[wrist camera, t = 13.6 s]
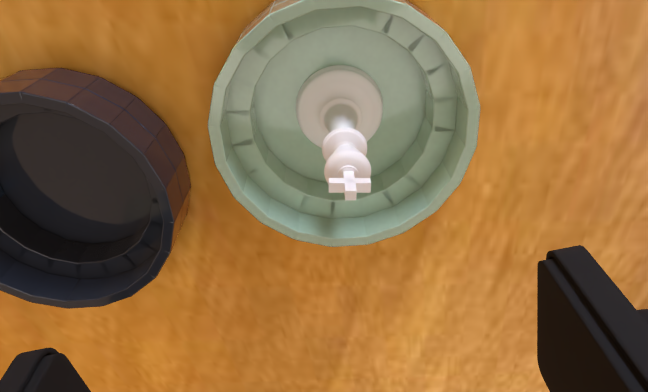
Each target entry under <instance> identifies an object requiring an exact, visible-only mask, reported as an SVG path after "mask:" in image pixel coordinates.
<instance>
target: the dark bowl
mask: <svg viewBox="0 0 648 392" xmlns="http://www.w3.org/2000/svg"><path fill="white" fill-rule="evenodd" d="M190 189H191V184H190V179H189V175H188V170H187V166H186V162H185V157H184V155H183V152H182V150H181V149H180V147H179V145H178V144H177V142H176V140H175V139H174V137H173V135H172V134H171V132H170V130H169V129H168V127H167V125H166V124H165V123H164V122H163V121H162V120H161V119H160V118H159V117H158V116H157V115H156V114H155V113H154V112H152V111H151V110H150V109H149V108H148V107H147V106H146V105H145V104H144V103H143V102H142V101H141V100H140V99H139V98H137V97H136V96H134V95H133V94H131V93H129V92H127V91H125V90H123V89H121V88H120V87H118V86H116V85H114V84H112V83H110V82H108V81H107V80H105V79H103V78H100V77H98V76H94V75H90V74H85V73H81V72H77V71H72V70H68V69H64V68H48V69H34V70H22V71H19V72H16V73H14V74H12V75H10V76H7V77H5V78H3V79H1V80H0V290H1V291H3V292H6V293H8V294H11V295H13V296H16V297H19V298H21V299H24V300H26V301H29V302H32V303H38V304H44V305H50V306H56V307H62V308H84V307H100V306H104V305H107V304H110V303H113V302H116V301H119V300H122V299H125V298H128V297H131V296H132V295H134V294H135V293H137V292H138V291H139V290H140V289H142V288H143V287H144V286H146V285H147V284H148V283H150V282H151V281H152V280H153V279H155V278H156V277H157V275H158V273H159V272H160V270H161V268H162V267H163V265H164V263H165V262H166V260H167V258H168V256H169V255H170V253H171V251H172V248H173V246H174V243H175V241H176V239H177V236H178V234H179V232H180V229H181V227H182V225H183V222H184V220H185V217H186V215H187V211H188V204H189V196H190Z"/></svg>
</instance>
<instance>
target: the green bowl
mask: <svg viewBox="0 0 648 392" xmlns="http://www.w3.org/2000/svg"><path fill="white" fill-rule="evenodd" d="M334 65H347V66H352V67H355V68H358V69H360V70H362V71H363V72H365V73H366V74H368V75H369V76H370V77H371V78H372V79H373V80H374V81H375V83H376V84H377V86H378V88H379V90H380V92H381V95H382V99H383V114H382V120H381V123H380V125H379V127H378V129H377V131H376V133H375V134H374V135H373V136H372V137H371V139H369V140H368V141H367V154H366V156H365V157H366V158H367V159H368V161H369V163H370V166H371V176H370V180H371V192H370V193H357V194H356V200H345V195H344V193H329V188H328V187H329V184H328V183H327V181H326V179H325V176H324V168H325V164H326V160H325V159H324V157H323V154H322V148H320V147H318V146H317V145H315V144H314V143H312V142H311V141H310V140H309V139H308V138H307V137H306V136H305V135H304V133H303V132H302V130H301V128H300V126H299V123H298V120H297V116H296V100H297V96H298V93H299V91H300V89H301V87H302V85H303V84H304V82H305V81H306V80H307V79H308V78H309V77H310V76H311V75H312V74H314V73H315V72H317V71H319V70H321V69H323V68H325V67H329V66H334ZM479 117H480V103H479V99H478V95H477V91H476V87H475V83H474V79H473V75H472V71H471V68H470V66H469V64H468V63H467V61H466V60H465V58H464V57H463V55H462V54H461V52H460V51H459V49H458V48H457V47H456V45H455V44H454V42H453V41H452V39H451V38H450V36H449V35H448V33H447V32H446V31H445V30H444V29H443V28H442V27H441V26H439V25H438V24H437V23H436V22H435V21H434V20H433V19H432V18H430V17H429V16H428V15H427V14H426V13H425V12H423V11H422V10H420V9H419V8H417V7H416V6H415V5H413V4H412V3H410V2H409V1H408V0H276V1H273V2H272V3H271V4H270V5H269V6H268V7H267V8H266V9H265V10H264V11H263V12H261V13H260V14H259V15H258V16H257V17H256V18H255V19H254V20H253V21H252V22H251V23H250V24H248V25H247V26H246V28H245V29H244V30H243V32H242V34H241V35H240V37H239V39H238V40H237V42H236V44H235V45H234V47H233V49H232V51H231V53H230V55H229V57H228V58H227V60H226V62H225V64H224V66H223V68H222V70H221V72H220V73H219V75H218V77H217V79H216V81H215V83H214V86H213V92H212V99H211V105H210V112H209V119H208V131H209V136H210V141H211V146H212V151H213V157H214V162H215V164H216V167H217V169H218V170H219V172H220V174H221V176H222V177H223V179H224V181H225V183H226V185H227V186H228V188H229V190H230V192H231V193H232V195H233V197H234V198H235V199H236V200H237V201H238V202H239V203H240V204H241V205H242V206H243V207H245V208H246V209H247V210H248V211H249V212H250V213H251V214H252V215H253V216H254V217H255V218H256V219H257V220H258V221H260V222H261V223H262V224H264V225H266V226H268V227H270V228H272V229H274V230H276V231H278V232H280V233H282V234H284V235H286V236H288V237H290V238H292V239H295V240H298V241H303V242H308V243H313V244H318V245H324V246H329V247H339V246H355V245H368V244H372V243H375V242H378V241H381V240H384V239H387V238H390V237H393V236H396V235H399V234H402V233H404V232H406V231H407V230H409V229H410V228H412V227H413V226H415V225H417V224H418V223H420V222H421V221H423V220H424V219H426V218H427V217H429V216H430V215H432V214H433V213H435V211H437V210H438V209H439V208H440V207H441V205H442V204H443V203H444V202H445V201H446V200H447V198H448V197H449V196H450V195H451V194H452V193H453V191H454V190H455V189H456V188H457V187H458V186H459V184H460V182H461V181H462V179H463V177H464V174H465V172H466V170H467V167H468V165H469V163H470V161H471V158H472V156H473V154H474V152H475V149H476V147H477V138H478V128H479Z"/></svg>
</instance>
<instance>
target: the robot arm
mask: <svg viewBox="0 0 648 392" xmlns="http://www.w3.org/2000/svg"><path fill="white" fill-rule="evenodd" d="M537 358H538V365H539V368H540V372H541V374H542V377H543V379H544V381H545V383H546V385H547V387H548V389H549V391H550V392H648V309H641V310H636V309H635V308H634V307H633V305H632V304H631V303H630V302H629V301H628V299H627V298H626V297H625V296H624V295H623V293H622V292H621V291H620V290H619V288H618V287H617V286H616V285H615V284H614V282H613V281H612V280H611V279H610V278H609V276H608V275H607V274H606V273H605V271H604V270H603V269H602V268H601V267H600V265H599V264H598V263H597V262H596V261H595V259H594V258H593V257H592V256H591V254H590V253H589V252H588V251H587V250H586V249H585V248H584V247H583V246H580V245H579V246H573V247H568V248H563V249H558V250H553V251H549V252H548V253H547V256H546V260H543V261H539V263H538V331H537ZM0 392H91V391H90V390H89V388H88V387H87V385H86V384H85V383H84V381H83V380H82V378H81V377H80V376H79V374H78V373H77V371H76V370H75V368H74V367H73V366H72V364H71V363H70V361H69V360H68V358H67V357H66V356H65V355H64V354H62V353H58V352H57V351H56V350H55V349H53V348H44V349H39V350H34V351H29V352H24V353H21V354H19V355H17V356H16V358H15V359H14V360H13V361H12V363H11V365H10V366H9V368H8V369H7V371H6V372H5V374H4V376H3V377H2V379H1V380H0Z"/></svg>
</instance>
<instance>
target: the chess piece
mask: <svg viewBox="0 0 648 392" xmlns="http://www.w3.org/2000/svg"><path fill="white" fill-rule="evenodd" d="M382 114H383V99H382V95H381V92H380V90H379V88H378V86H377V84H376V83H375V81H374V80H373V79H372V78H371V77H370V76H369V75H368V74H366V73H365V72H363V71H362V70H360V69H358V68H355V67H352V66H347V65H334V66H329V67H325V68H323V69H321V70H319V71H317V72H315V73H314V74H312V75H311V76H310V77H309V78H308V79H307V80H306V81H305V82H304V84H303V85H302V87H301V89H300V91H299V93H298V96H297V100H296V116H297V120H298V123H299V126H300V128H301V130H302V132H303V133H304V135H305V136H306V137H307V138H308V139H309V140H310V141H311V142H312V143H314V144H315V145H317V146H318V147H320V148H322V154H323V157H324V159H325V160H326V164H325V168H324V176H325V179H326V181H327V183H328V184H329V187H328V188H329V193H344V195H345V200H356V194H357V193H370V192H371V180H370V176H371V166H370V163H369V161H368V159H367V158H366V157H365V156H366V154H367V141H368V140H369V139H371V137H372V136H373V135H374V134H375V133H376V131H377V129H378V127H379V125H380V123H381V120H382Z"/></svg>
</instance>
